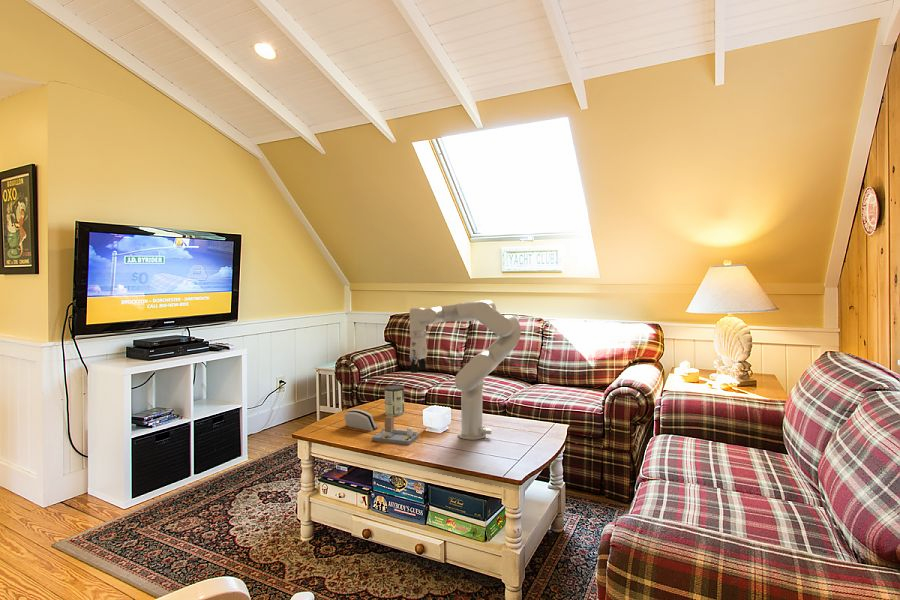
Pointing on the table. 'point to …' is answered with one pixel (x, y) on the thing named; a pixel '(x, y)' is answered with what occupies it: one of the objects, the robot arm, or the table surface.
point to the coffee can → (394, 400)
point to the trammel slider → (389, 427)
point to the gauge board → (398, 437)
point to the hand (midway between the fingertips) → (418, 370)
